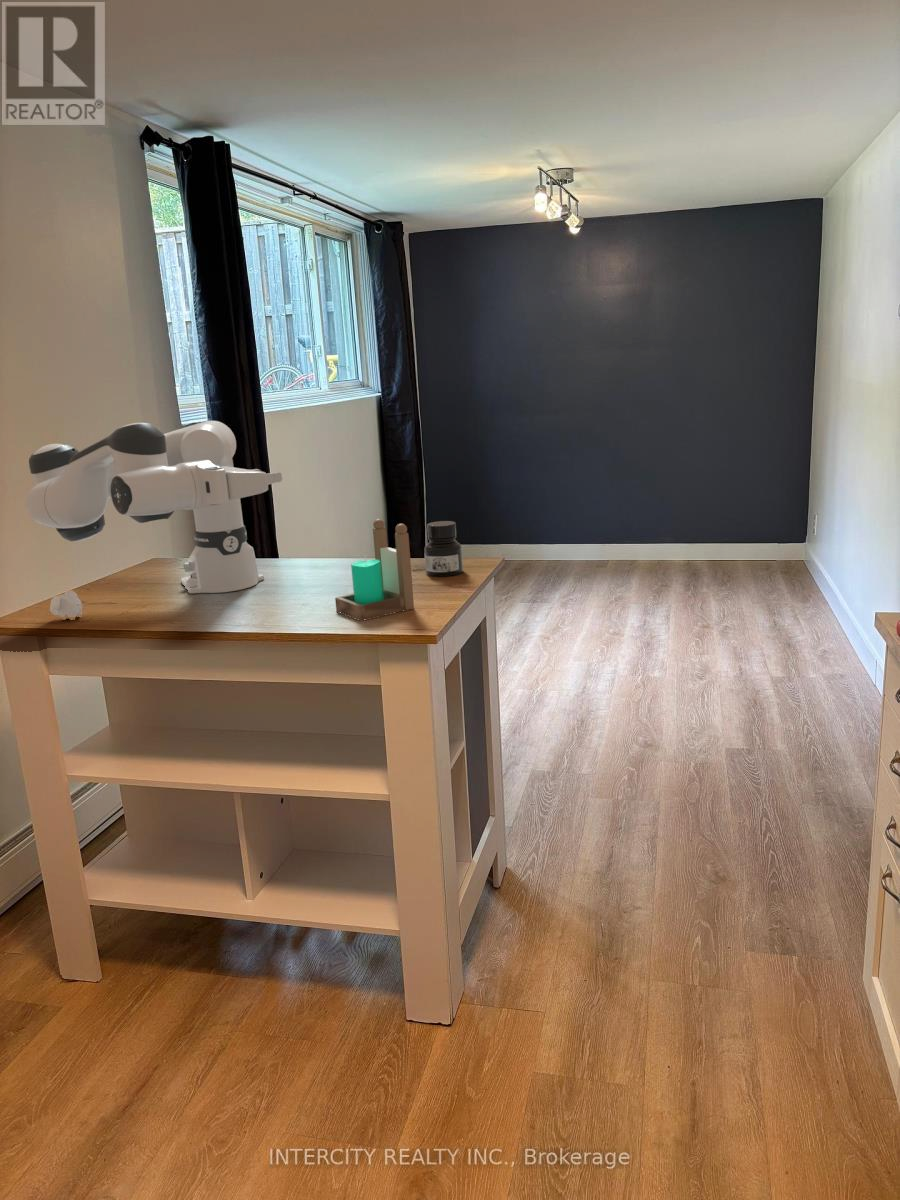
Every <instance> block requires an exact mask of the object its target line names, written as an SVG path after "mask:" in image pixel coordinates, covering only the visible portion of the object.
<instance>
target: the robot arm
mask: <svg viewBox="0 0 900 1200" xmlns="http://www.w3.org/2000/svg"><path fill="white" fill-rule="evenodd" d="M236 450H237V440H236V436H235V434H234V432H233V431H232V429H231V428H230V427H228V425H226V424H225V423H223V422H221V421H219V420H205V421H202V422H198V423H195V424H192V425H189V426H184V427H182V428H178V429H175V430H172V431H169V432H166V433H163V432H162V431H161V430H160V429H159V428H158V427H156V426H155V425H154V424H152V423H149V422H131V423H128V424H125V425H123V426H121V427H119V428H117V429H115V430H114V431H113V432H112V433H111V434H109V435H108V436H106V437H105V438H103V439H100V440H99V441H97V442H95V443H93V444H91V445H90V446H87V447H86V448H84V449H82V450H81V451H79V450H78V449H77V448H76V447H74V446H71V445H69V444H67V443H50V444H47V445H44V446H42V447H40V448H38V449H37V450H36V451H35V452H34V453H32V454H31V455H30V457H29V459H28V466H29V470H30V474H32V477H33V479H34V483H35V485H34V486H33V487H32V488H31V489H29V492H28V493H27V496H26V498H25V506H26V511H27V513H28V515H29V517H30V518H31V519H32V520H33V521H34V522H35V523H37V524H39V525H41V526H45V527H49V528H53V529H55V530H56V531H57V533H58V534H59V535H60V536H61V538H62V539H64V540H67V541H68V542H82V541H83V542H84V541H88V540H90V539H92V538H94V537H96V535H98V534H99V533H100V532H102V531H103V529H104V527H105V525H106V519H105V511H106V509H107V508H108V503H109V500H110V499H111V501H112V504H113V507H114V509H116V511H117V512H118V513H119V514H120V515H122V516H126V517H129V518H131V519H132V520H134V521H135V522H137V523H140V524H144V523H148V522H153V521H159V520H169V519H170V517H171V516H172V515H173V514H174V513H175V511H177V510H187V511H191V510H192V511H193V517H194V519H193V520H194V525H195V526H194V527H195V530H194V535H193V539H194V545H195V547H194V549H193V550H192V552H191V554H190V556H189V557H188V559H187V562H184V563H183V569H184V570H183V571H184V572H185V573H189V575H187V576H184V577H181V578H180V582H182V583H181V584H182V586H183V585H184V586H185V587H184V586H183V587H184V588H185V590H186V589H187V590H188V591H187V590H186V591H187V593H188V594H201V593H202V594H203V593H204V594H208V593H209V594H214V593H215V594H217V593H227V592H228V593H229V592H235V591H242V590H245V589H247V588H251V587H253V586H256V585H257V584H258V583H259V582H260V581H261V582H262V581H263V580H265V576H264V574H262V573H259V570H258V565H257V559H256V555H255V550H254V547H253V546H251V545H250V544H249V543H248V542H247V540H248V535H247V534H248V533H247V529H246V525H245V524H244V518H243V510H242V503H241V499H243V498H247V497H252V496H255V495H261V494H263V493H265V492H267V491H269V485H272V484H276V483H281V482H282V481H283V476H282V473H281V472H279V471H278V472H277V471H276V472H275V471H274V472H268V473H266V472H265V471H262V470H261V469H258V468H254V469H246V468H240V467H234V460H233V457H234V455H235V454H236Z"/></svg>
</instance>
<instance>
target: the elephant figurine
mask: <svg viewBox="0 0 900 1200" xmlns="http://www.w3.org/2000/svg"><path fill="white" fill-rule="evenodd" d="M48 612H51V613H52V614H53V615H55V616H56V615H58V616H59V618H60V617H66V616H68V617H75V616H76V615H79V614H81V615H82V612H83V602H82V601H81V599H80V598H79V597H78V594H77V593H76V592H75V591H74V590H70V589H69V590H66V591H65V592H64V593H63V594H60V595H55V596H53V597H52V598H51V601H50V609H49V611H48Z"/></svg>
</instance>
